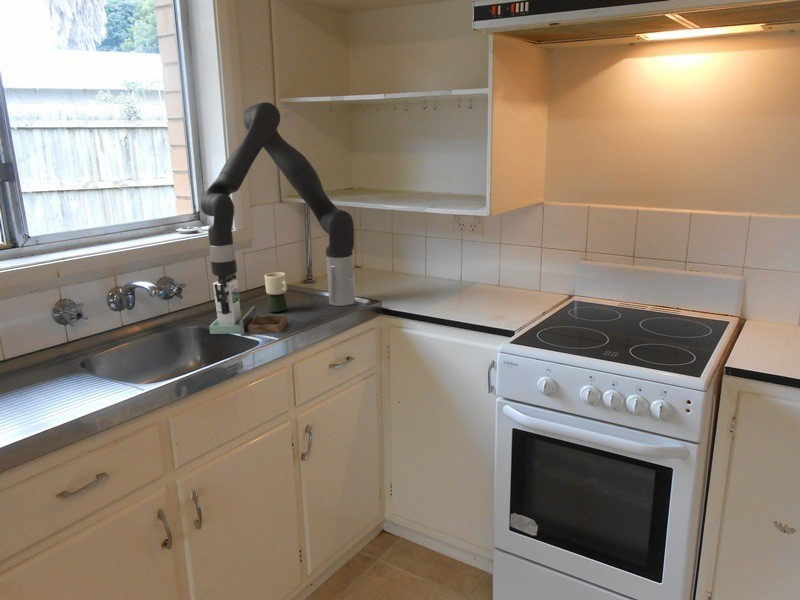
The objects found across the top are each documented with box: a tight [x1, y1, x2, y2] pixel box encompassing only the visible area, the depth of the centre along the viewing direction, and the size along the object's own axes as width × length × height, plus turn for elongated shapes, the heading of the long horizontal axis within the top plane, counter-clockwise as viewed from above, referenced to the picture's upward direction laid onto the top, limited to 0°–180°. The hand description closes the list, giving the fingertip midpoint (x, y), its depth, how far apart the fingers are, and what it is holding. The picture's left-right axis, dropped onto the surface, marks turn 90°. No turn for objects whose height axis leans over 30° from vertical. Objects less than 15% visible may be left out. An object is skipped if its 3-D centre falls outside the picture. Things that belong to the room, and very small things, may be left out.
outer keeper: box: [208, 315, 244, 335], centre depth 198 cm, size 10×10×2 cm
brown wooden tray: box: [247, 315, 288, 334], centre depth 198 cm, size 10×10×2 cm
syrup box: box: [212, 278, 243, 326], centre depth 197 cm, size 6×6×14 cm
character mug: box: [264, 271, 288, 313], centre depth 214 cm, size 11×7×13 cm, turn 50°
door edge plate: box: [239, 305, 258, 337], centre depth 198 cm, size 1×15×5 cm, turn 177°
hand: (229, 310), depth 197 cm, fingers closed on syrup box, 6 cm apart
